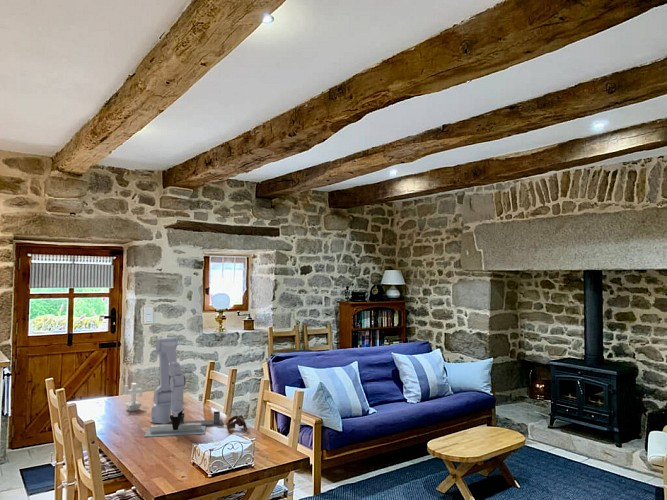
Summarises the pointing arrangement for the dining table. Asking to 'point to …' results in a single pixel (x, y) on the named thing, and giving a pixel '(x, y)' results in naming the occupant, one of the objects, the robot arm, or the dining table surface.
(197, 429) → the steel rail
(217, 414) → the hook standards
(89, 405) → the dining table surface
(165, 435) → the slate mat
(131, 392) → the figurine
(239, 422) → the brown arched figure
